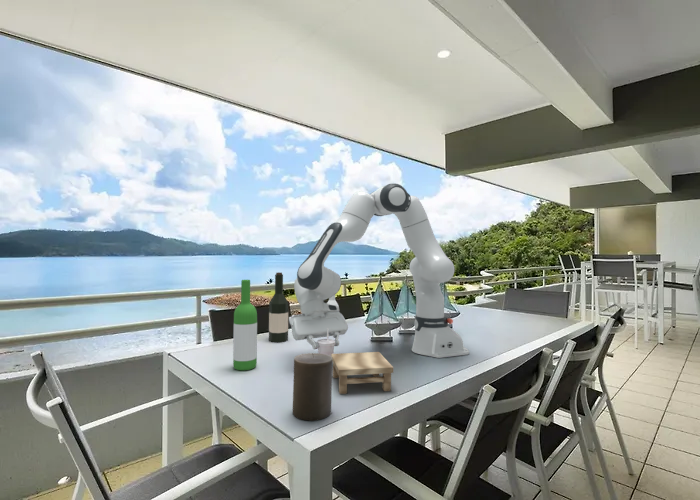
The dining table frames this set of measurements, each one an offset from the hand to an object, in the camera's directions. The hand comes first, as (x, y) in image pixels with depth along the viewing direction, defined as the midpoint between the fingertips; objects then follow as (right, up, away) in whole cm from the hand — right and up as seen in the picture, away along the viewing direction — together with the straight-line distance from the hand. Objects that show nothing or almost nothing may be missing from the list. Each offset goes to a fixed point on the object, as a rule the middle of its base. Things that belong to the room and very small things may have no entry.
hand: (326, 346), depth 125 cm
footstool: (+11, -8, -12) cm, 18 cm away
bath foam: (-1, -8, +52) cm, 53 cm away
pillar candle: (-2, -8, -32) cm, 33 cm away
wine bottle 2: (-24, -8, +39) cm, 46 cm away
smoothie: (0, -8, +1) cm, 8 cm away
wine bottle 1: (-28, -8, +2) cm, 29 cm away
